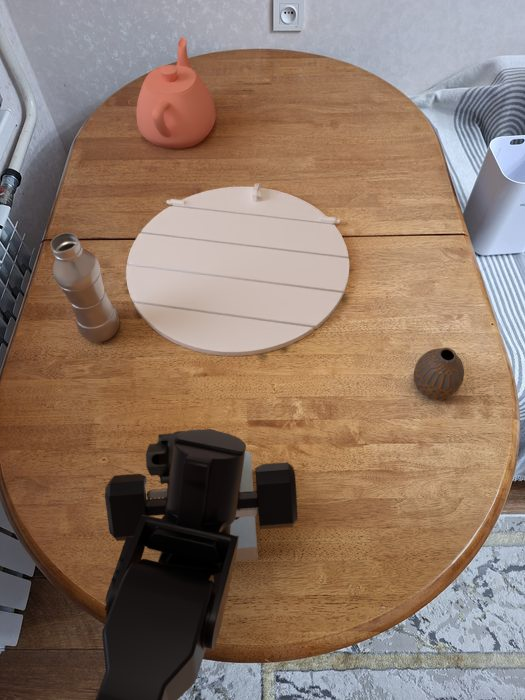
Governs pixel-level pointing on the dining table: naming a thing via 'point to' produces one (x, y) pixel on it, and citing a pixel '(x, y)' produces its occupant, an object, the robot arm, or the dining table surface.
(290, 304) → the lazy susan
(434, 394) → the vase
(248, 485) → the cistern
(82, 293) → the plastic bottle
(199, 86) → the teapot
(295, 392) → the dining table surface
